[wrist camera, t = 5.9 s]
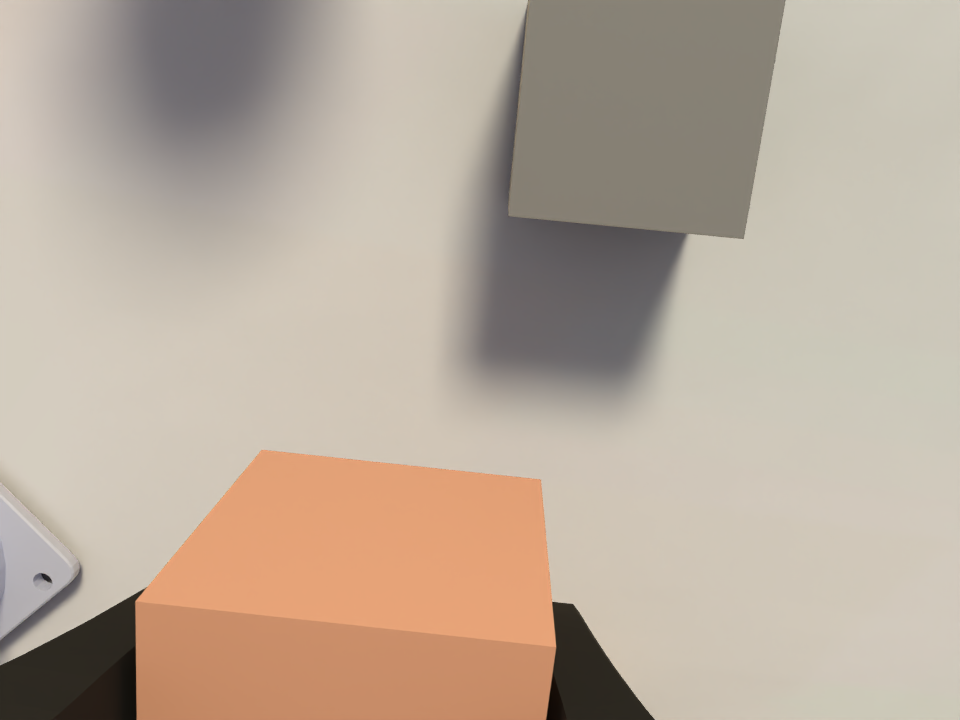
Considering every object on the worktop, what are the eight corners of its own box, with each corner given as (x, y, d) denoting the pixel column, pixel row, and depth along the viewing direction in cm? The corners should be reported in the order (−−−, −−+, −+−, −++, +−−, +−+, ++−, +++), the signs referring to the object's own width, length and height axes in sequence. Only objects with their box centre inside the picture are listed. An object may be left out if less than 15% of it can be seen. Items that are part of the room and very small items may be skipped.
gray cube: (691, 219, 20) (743, 238, 15) (508, 201, 20) (508, 216, 15) (722, 22, 19) (788, -18, 14) (528, 4, 19) (533, -41, 14)
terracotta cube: (510, 718, 14) (510, 973, 10) (254, 690, 14) (138, 932, 10) (541, 479, 13) (555, 647, 9) (262, 449, 13) (135, 601, 9)
